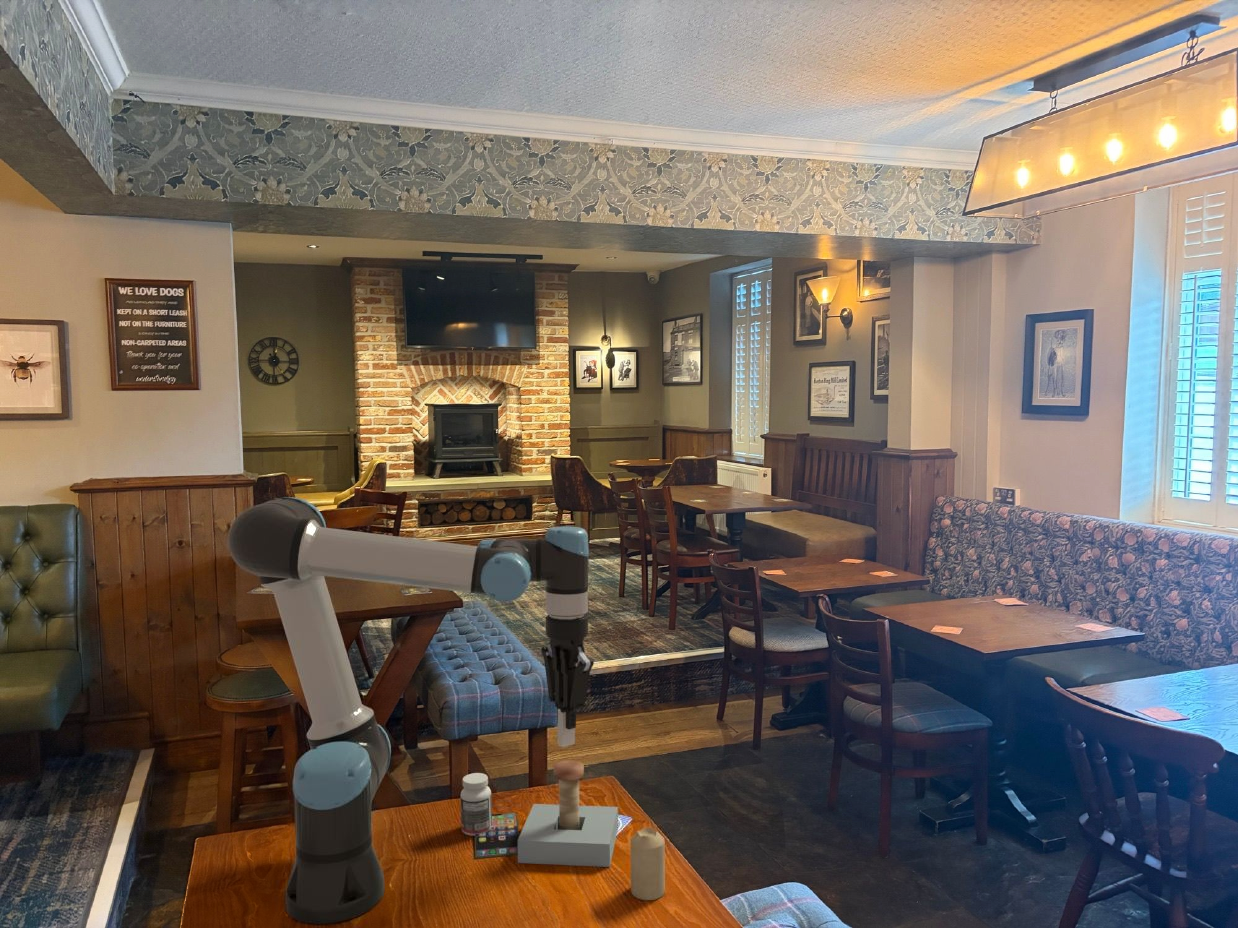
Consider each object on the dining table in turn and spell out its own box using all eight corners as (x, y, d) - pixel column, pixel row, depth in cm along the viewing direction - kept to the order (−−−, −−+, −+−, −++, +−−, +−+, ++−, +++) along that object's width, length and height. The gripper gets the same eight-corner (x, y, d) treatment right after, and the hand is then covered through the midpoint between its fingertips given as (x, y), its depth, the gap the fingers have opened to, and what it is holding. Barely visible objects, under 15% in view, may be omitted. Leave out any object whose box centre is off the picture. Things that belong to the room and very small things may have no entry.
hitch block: (518, 862, 149) (517, 840, 149) (533, 824, 163) (533, 803, 163) (609, 866, 148) (609, 843, 147) (618, 827, 161) (617, 806, 161)
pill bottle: (469, 820, 165) (467, 770, 164) (496, 823, 163) (495, 772, 163) (456, 835, 159) (454, 782, 159) (485, 838, 158) (483, 785, 157)
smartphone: (474, 861, 151) (474, 854, 151) (474, 821, 165) (474, 815, 165) (521, 857, 152) (521, 850, 152) (516, 817, 167) (516, 811, 167)
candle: (662, 902, 137) (661, 841, 136) (628, 898, 138) (627, 837, 137) (667, 883, 142) (666, 824, 141) (634, 880, 143) (633, 821, 143)
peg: (552, 851, 153) (551, 771, 152) (557, 836, 158) (556, 759, 157) (582, 852, 152) (581, 772, 151) (586, 837, 158) (585, 760, 157)
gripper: (606, 618, 150) (605, 750, 151) (562, 604, 160) (562, 729, 162) (571, 624, 145) (570, 761, 147) (528, 610, 155) (528, 738, 157)
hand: (566, 744), depth 154 cm, fingers closed
